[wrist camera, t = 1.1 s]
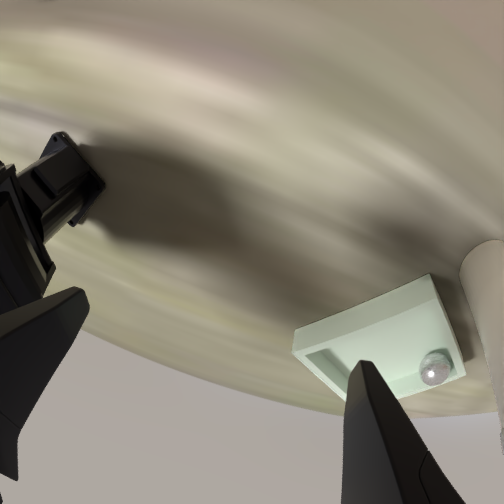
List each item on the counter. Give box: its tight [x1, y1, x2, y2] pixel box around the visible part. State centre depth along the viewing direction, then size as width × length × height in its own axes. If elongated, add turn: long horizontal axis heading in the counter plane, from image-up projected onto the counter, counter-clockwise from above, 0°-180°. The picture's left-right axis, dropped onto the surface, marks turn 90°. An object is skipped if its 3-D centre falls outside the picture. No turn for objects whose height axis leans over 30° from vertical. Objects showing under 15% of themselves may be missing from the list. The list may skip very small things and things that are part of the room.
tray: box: [291, 274, 466, 402], centre depth 26 cm, size 13×13×3 cm
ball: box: [419, 352, 450, 386], centre depth 25 cm, size 3×3×3 cm
